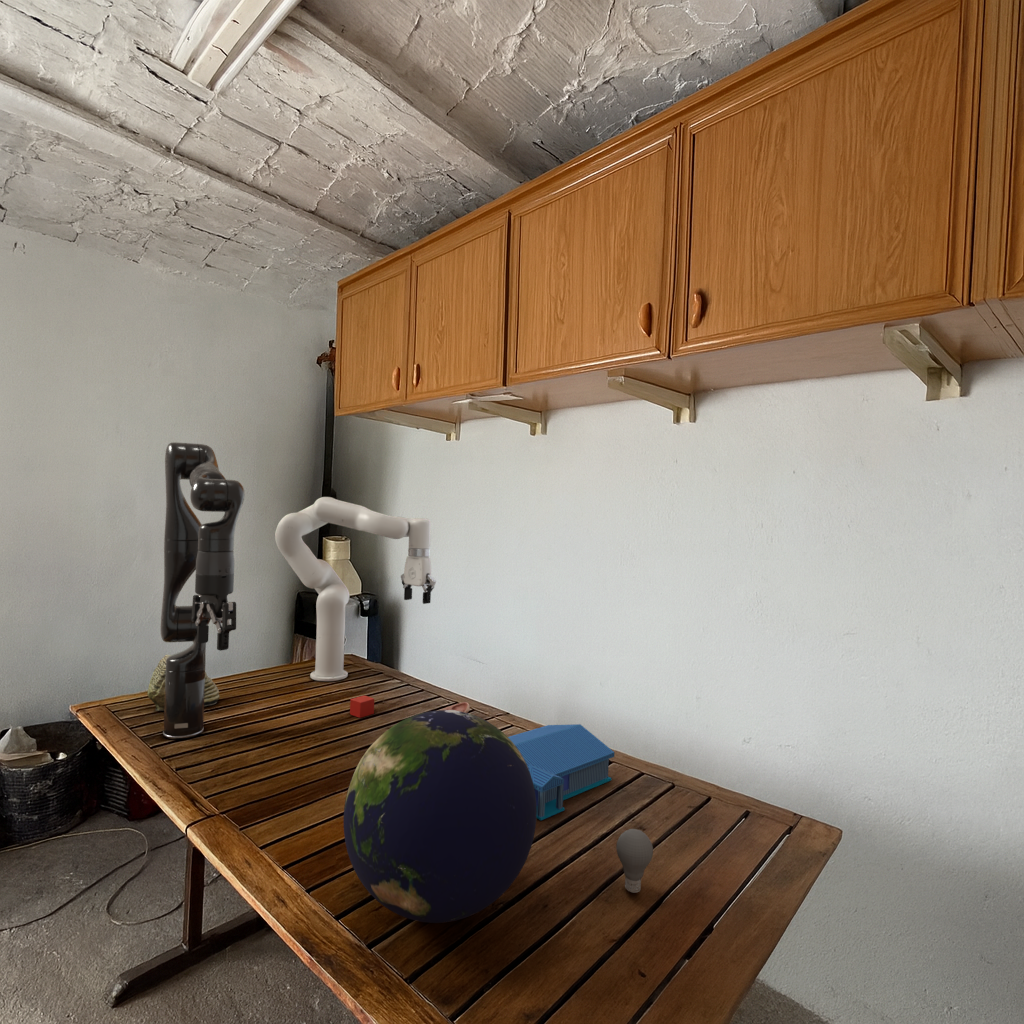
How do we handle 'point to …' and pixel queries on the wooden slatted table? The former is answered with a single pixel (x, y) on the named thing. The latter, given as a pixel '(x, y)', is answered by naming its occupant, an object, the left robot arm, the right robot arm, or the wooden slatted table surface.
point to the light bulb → (634, 857)
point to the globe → (440, 816)
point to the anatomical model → (459, 707)
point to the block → (362, 706)
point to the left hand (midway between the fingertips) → (212, 646)
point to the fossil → (158, 687)
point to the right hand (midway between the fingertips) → (417, 601)
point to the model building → (562, 763)
